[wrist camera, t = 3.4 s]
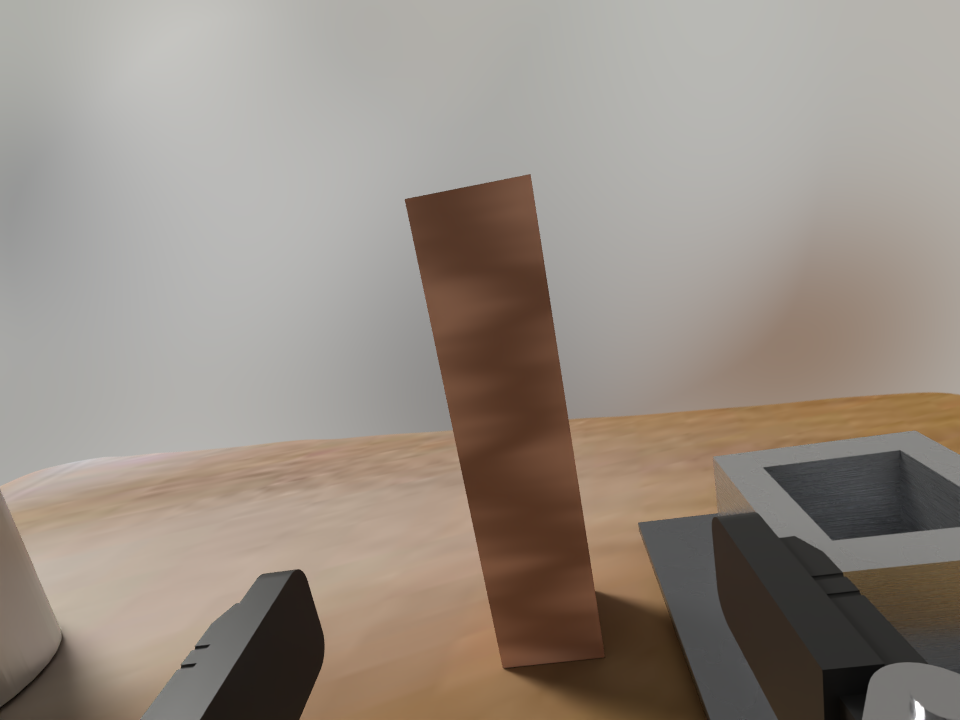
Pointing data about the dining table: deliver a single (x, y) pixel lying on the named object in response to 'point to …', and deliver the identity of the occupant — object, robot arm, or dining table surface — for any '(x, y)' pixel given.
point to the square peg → (509, 415)
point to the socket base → (823, 549)
